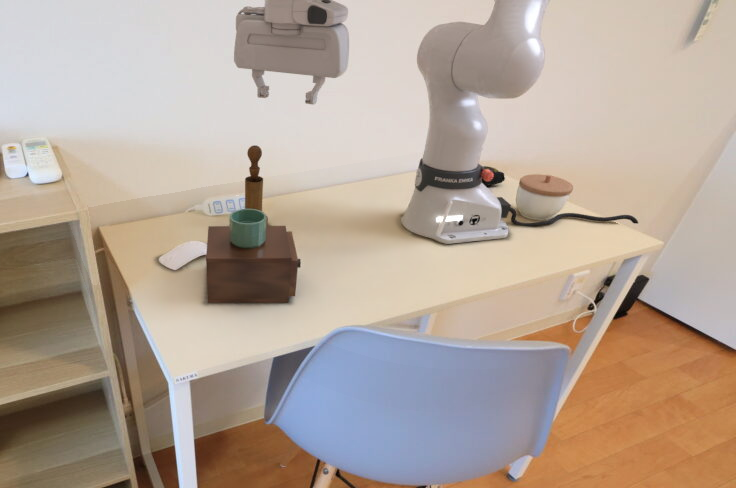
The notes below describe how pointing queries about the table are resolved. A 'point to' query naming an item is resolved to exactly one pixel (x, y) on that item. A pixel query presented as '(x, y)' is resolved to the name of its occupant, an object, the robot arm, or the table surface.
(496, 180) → the tape measure
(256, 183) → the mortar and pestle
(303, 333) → the table surface
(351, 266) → the table surface
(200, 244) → the white curved flat piece
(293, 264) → the drawer
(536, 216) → the trinket box
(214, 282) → the cabinet
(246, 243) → the cylindrical container
